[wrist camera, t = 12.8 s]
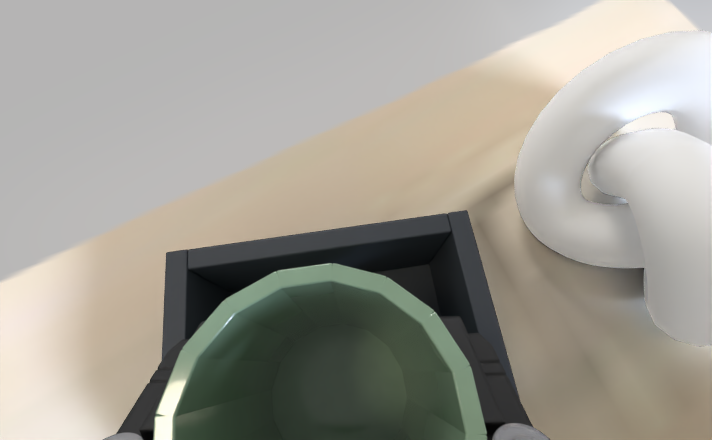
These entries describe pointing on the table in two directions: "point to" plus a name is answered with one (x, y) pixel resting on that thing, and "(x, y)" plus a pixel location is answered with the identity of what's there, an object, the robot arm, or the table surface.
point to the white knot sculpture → (632, 175)
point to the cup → (321, 365)
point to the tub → (349, 248)
